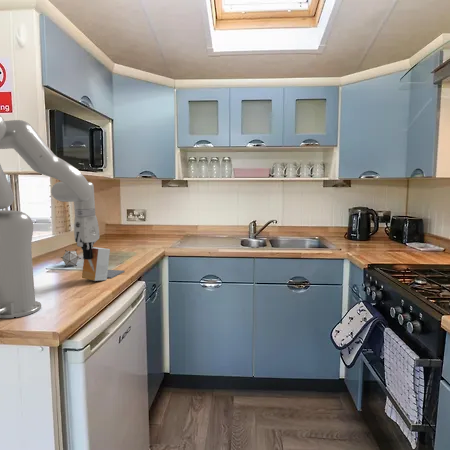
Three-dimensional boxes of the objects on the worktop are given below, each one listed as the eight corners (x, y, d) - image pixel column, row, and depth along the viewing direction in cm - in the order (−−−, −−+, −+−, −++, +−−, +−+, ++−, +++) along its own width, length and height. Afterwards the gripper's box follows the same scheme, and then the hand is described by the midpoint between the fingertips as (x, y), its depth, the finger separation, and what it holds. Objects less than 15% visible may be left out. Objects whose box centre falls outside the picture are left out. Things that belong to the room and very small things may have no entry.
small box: (81, 278, 137) (84, 246, 138) (94, 277, 143) (97, 247, 143) (94, 280, 133) (98, 248, 134) (107, 280, 139) (110, 248, 139)
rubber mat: (111, 278, 141) (111, 277, 141) (90, 277, 143) (90, 275, 143) (124, 271, 152) (124, 270, 152) (104, 270, 154) (104, 269, 154)
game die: (67, 273, 164) (56, 257, 165) (83, 264, 170) (72, 248, 170) (69, 267, 157) (57, 250, 158) (85, 259, 162) (74, 242, 163)
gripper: (81, 215, 123) (84, 263, 126) (104, 211, 138) (107, 255, 140) (63, 215, 125) (67, 263, 127) (88, 211, 139) (91, 254, 142)
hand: (88, 258), depth 134 cm, fingers closed
